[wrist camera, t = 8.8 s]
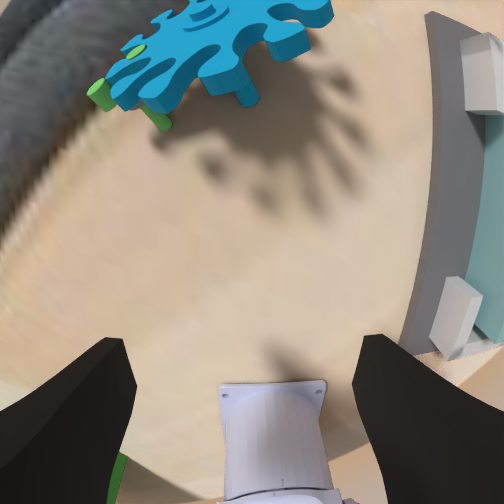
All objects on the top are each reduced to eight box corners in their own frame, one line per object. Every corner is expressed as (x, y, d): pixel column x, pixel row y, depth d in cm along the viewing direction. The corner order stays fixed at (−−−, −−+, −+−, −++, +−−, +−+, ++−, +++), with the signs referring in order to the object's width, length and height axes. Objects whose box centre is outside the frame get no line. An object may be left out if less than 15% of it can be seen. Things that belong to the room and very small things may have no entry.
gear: (282, -45, 10) (379, 8, 6) (308, 32, 15) (386, 136, 11) (101, 38, 12) (53, 154, 8) (152, 97, 17) (149, 222, 13)
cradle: (489, 330, 20) (512, 354, 17) (396, 349, 20) (417, 383, 16) (523, 64, 12) (556, 62, 8) (424, 15, 12) (458, -3, 8)
